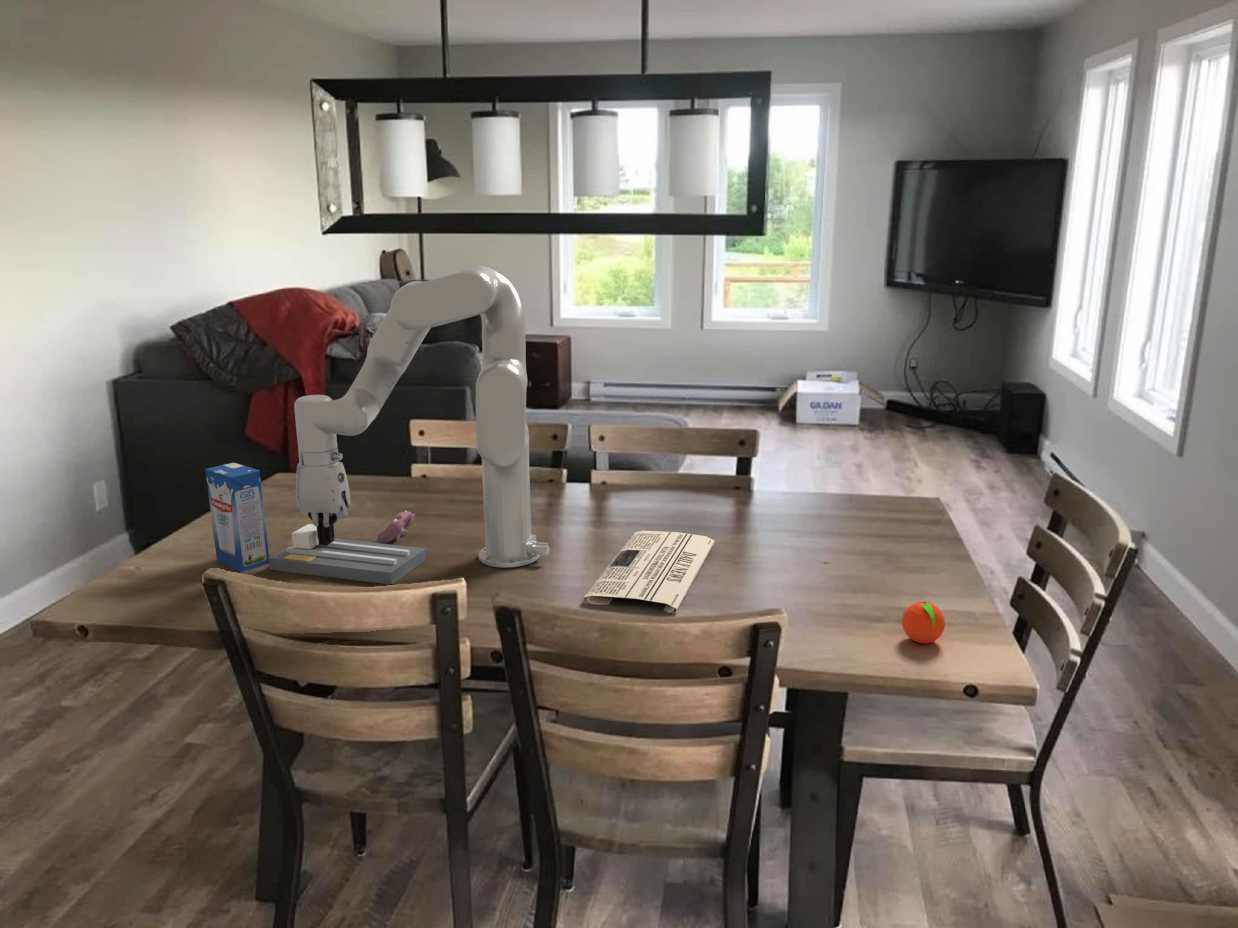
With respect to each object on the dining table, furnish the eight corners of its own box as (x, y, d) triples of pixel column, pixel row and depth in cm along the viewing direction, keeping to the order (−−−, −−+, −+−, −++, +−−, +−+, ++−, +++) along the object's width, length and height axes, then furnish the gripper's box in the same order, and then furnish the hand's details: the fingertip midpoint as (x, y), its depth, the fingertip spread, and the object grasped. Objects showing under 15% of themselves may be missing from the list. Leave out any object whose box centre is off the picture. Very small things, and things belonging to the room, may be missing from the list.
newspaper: (634, 540, 217) (634, 528, 216) (722, 548, 212) (722, 535, 211) (583, 606, 183) (582, 592, 182) (685, 617, 178) (686, 603, 177)
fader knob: (327, 543, 207) (325, 525, 206) (310, 553, 202) (308, 534, 201) (310, 541, 208) (308, 523, 207) (293, 551, 203) (291, 533, 202)
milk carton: (216, 561, 206) (205, 468, 200) (244, 552, 210) (233, 462, 205) (242, 572, 200) (230, 477, 194) (270, 563, 204) (259, 470, 199)
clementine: (953, 652, 162) (956, 612, 160) (912, 654, 162) (915, 614, 160) (933, 631, 170) (936, 592, 168) (894, 633, 169) (897, 594, 167)
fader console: (426, 559, 205) (425, 544, 204) (391, 584, 192) (390, 568, 192) (310, 546, 214) (309, 531, 213) (270, 569, 201) (268, 553, 200)
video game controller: (392, 552, 214) (404, 525, 212) (374, 542, 215) (385, 515, 212) (410, 536, 224) (421, 511, 222) (392, 527, 224) (403, 501, 222)
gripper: (361, 455, 200) (368, 540, 205) (298, 449, 204) (306, 533, 209) (340, 464, 193) (348, 553, 198) (275, 459, 197) (284, 545, 202)
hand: (326, 543), depth 203 cm, fingers closed
